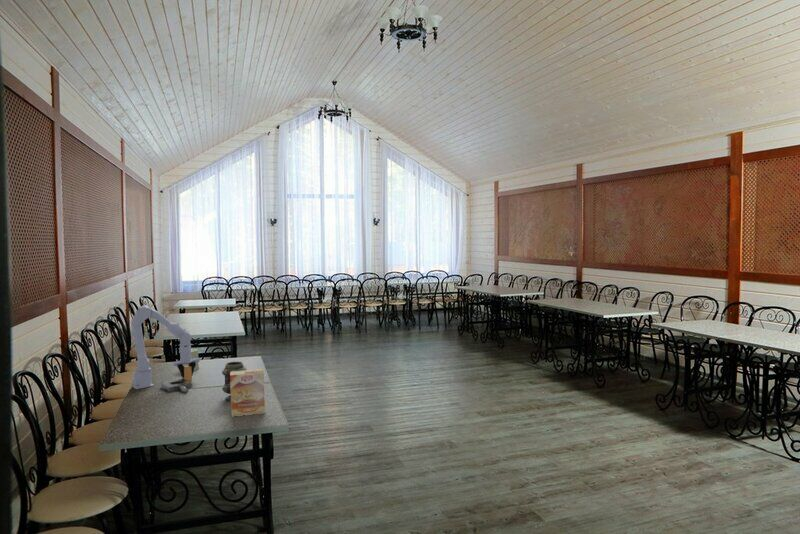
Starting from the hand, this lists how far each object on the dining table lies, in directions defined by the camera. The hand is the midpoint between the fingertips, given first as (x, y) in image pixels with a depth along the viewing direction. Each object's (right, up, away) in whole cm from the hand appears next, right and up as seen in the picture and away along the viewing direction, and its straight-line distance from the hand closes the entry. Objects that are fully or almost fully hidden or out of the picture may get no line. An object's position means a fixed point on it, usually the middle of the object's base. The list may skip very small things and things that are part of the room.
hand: (186, 376), depth 311 cm
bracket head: (+2, -4, -15) cm, 16 cm away
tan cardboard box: (0, -2, 0) cm, 2 cm away
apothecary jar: (+37, -5, -34) cm, 50 cm away
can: (-7, -1, +25) cm, 27 cm away
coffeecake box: (+50, -6, -56) cm, 75 cm away
